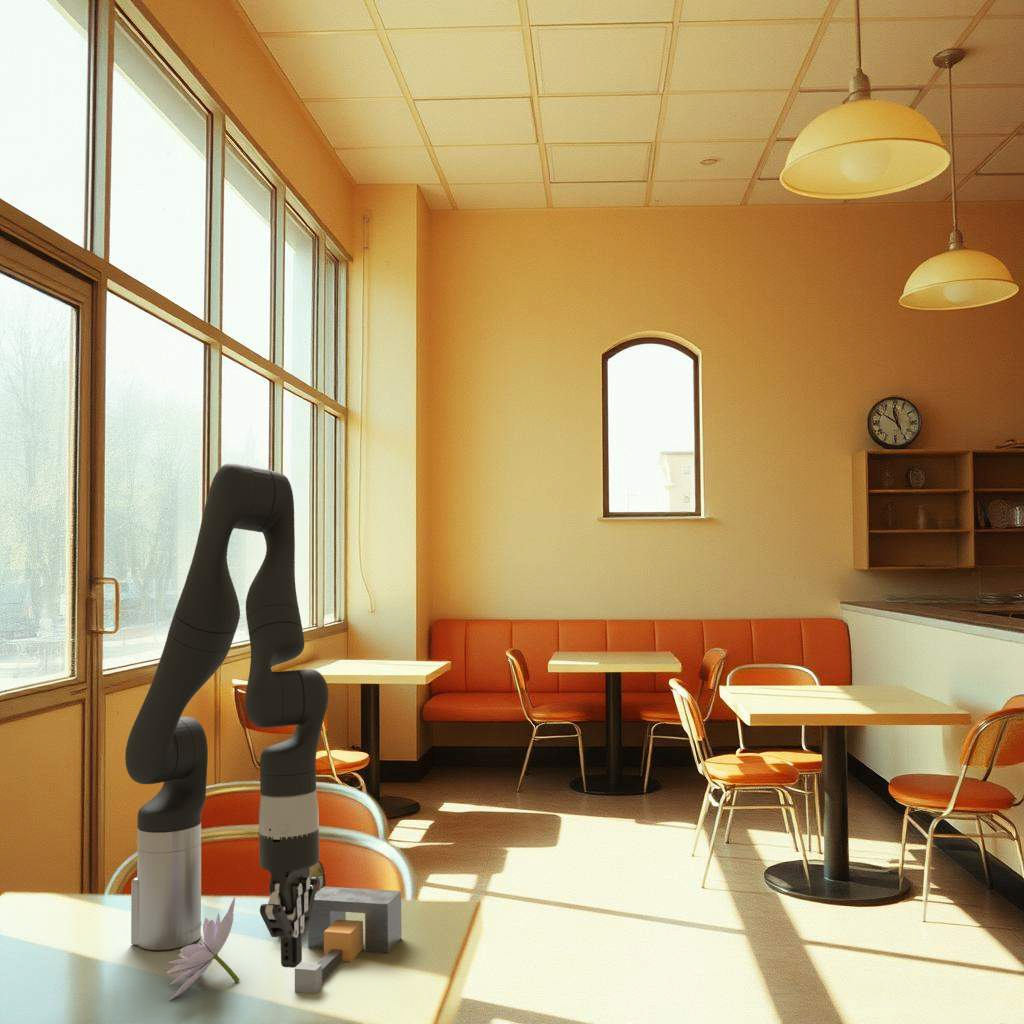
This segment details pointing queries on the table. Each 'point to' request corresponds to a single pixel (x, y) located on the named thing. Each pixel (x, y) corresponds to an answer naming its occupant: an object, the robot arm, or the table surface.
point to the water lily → (204, 951)
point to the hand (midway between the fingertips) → (291, 965)
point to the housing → (374, 903)
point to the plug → (331, 954)
